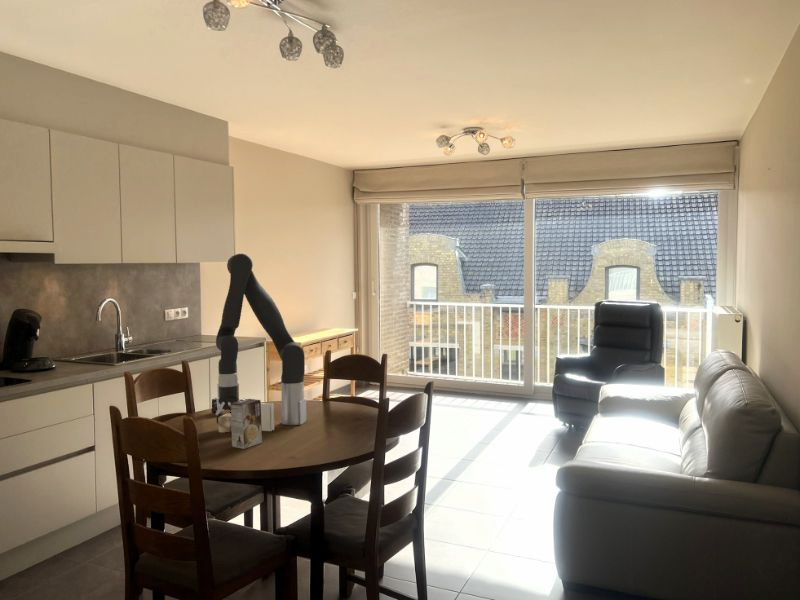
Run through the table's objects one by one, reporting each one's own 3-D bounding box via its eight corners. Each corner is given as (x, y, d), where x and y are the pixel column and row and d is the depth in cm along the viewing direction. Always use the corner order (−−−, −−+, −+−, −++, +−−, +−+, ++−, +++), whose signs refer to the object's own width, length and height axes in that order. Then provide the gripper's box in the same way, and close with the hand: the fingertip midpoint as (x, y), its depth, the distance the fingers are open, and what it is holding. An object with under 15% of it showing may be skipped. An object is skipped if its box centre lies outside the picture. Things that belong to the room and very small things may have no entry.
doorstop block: (237, 428, 249) (237, 413, 249) (229, 432, 242) (228, 417, 242) (227, 427, 250) (227, 413, 250) (218, 432, 243) (218, 417, 243)
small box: (221, 414, 274) (221, 385, 274) (217, 411, 280) (216, 383, 279) (239, 411, 279) (239, 383, 278) (235, 409, 284) (234, 381, 284)
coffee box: (250, 440, 230) (248, 398, 229) (262, 443, 226) (261, 399, 226) (231, 446, 222) (230, 402, 221) (244, 449, 218) (242, 404, 218)
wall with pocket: (274, 429, 246) (273, 403, 245) (271, 431, 243) (270, 404, 243) (253, 428, 248) (253, 402, 248) (250, 430, 245) (249, 403, 245)
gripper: (249, 383, 247) (250, 423, 248) (217, 382, 250) (218, 421, 251) (239, 386, 240) (241, 427, 240) (207, 385, 243) (208, 426, 244)
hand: (229, 424), depth 246 cm, fingers open, 8 cm apart
